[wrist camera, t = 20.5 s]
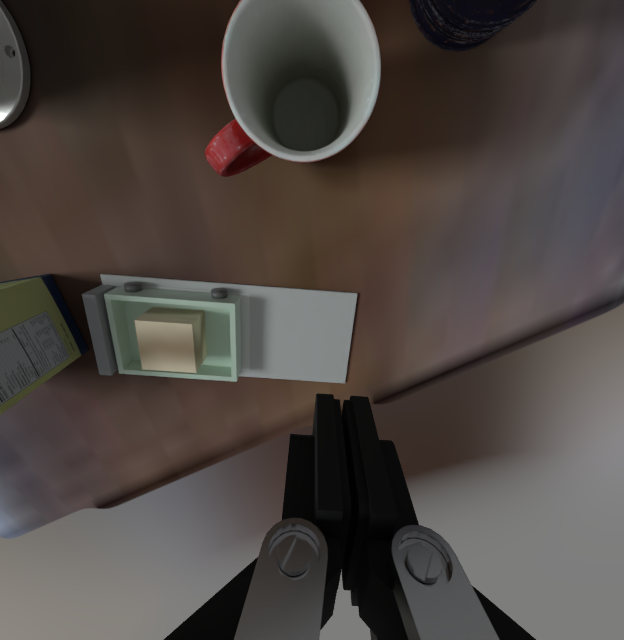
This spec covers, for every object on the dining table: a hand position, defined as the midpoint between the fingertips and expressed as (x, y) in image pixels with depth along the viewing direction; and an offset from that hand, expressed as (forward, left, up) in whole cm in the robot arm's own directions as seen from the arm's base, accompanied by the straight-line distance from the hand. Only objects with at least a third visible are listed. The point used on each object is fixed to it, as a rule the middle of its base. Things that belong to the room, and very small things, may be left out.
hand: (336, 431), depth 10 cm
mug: (-4, +12, -27) cm, 30 cm away
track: (-10, -10, -27) cm, 31 cm away
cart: (-16, -10, -27) cm, 33 cm away
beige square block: (-16, -10, -26) cm, 32 cm away
